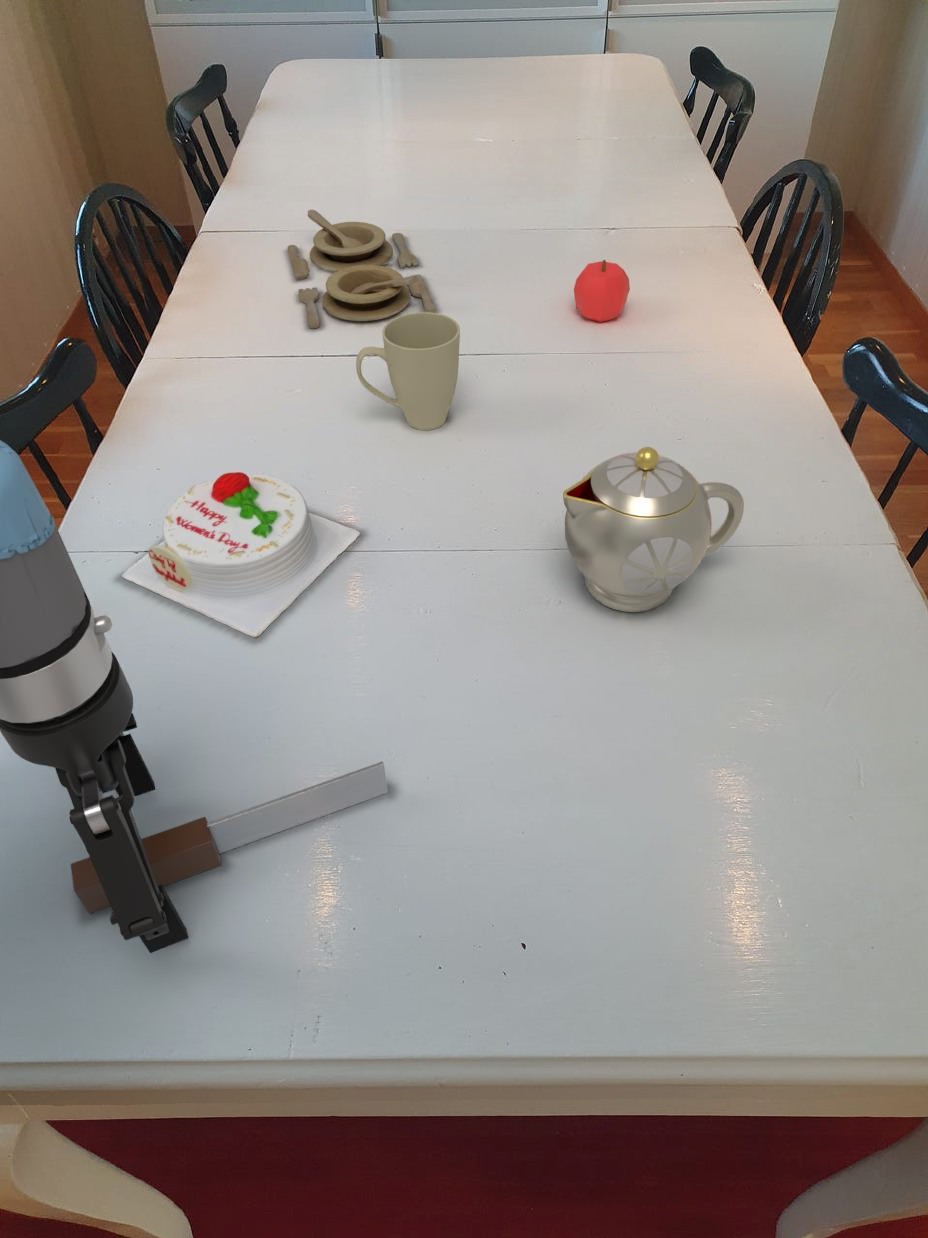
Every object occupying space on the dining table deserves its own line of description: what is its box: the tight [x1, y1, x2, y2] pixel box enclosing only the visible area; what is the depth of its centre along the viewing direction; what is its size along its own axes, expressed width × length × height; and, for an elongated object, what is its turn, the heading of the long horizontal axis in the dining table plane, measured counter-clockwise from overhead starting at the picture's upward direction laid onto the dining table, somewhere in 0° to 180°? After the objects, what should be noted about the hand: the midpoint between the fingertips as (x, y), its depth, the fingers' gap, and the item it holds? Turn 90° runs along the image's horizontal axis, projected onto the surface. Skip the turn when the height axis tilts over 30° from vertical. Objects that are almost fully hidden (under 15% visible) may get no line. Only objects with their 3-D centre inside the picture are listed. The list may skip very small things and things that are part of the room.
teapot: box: [562, 446, 745, 613], centre depth 85 cm, size 18×14×16 cm
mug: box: [355, 311, 461, 431], centre depth 109 cm, size 11×10×12 cm
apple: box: [573, 259, 631, 323], centre depth 129 cm, size 8×8×8 cm
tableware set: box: [287, 209, 436, 330], centre depth 139 cm, size 30×20×6 cm, turn 14°
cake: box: [120, 471, 361, 639], centre depth 93 cm, size 18×18×8 cm
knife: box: [70, 760, 389, 914], centre depth 70 cm, size 24×2×4 cm, turn 113°
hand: (152, 861), depth 68 cm, fingers open, 13 cm apart
